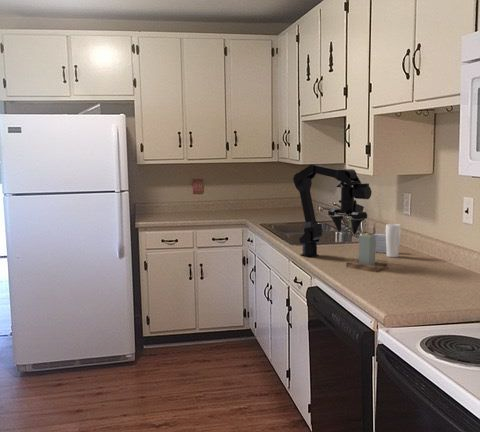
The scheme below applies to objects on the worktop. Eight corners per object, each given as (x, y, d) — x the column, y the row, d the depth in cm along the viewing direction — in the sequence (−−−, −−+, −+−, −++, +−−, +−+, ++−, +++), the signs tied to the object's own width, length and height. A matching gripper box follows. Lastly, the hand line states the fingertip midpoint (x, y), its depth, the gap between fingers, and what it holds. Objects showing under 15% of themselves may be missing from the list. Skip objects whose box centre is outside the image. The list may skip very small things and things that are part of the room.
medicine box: (390, 252, 265) (391, 234, 264) (388, 253, 261) (389, 235, 260) (374, 250, 269) (374, 233, 267) (372, 252, 265) (372, 234, 263)
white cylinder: (388, 254, 259) (389, 223, 257) (402, 256, 255) (403, 224, 253) (382, 256, 254) (383, 224, 252) (396, 258, 250) (397, 226, 248)
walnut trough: (346, 266, 233) (346, 262, 233) (358, 263, 240) (358, 258, 240) (375, 272, 224) (375, 267, 223) (387, 267, 231) (387, 263, 230)
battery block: (358, 265, 232) (359, 233, 230) (364, 263, 235) (365, 232, 234) (368, 267, 228) (369, 234, 227) (374, 265, 232) (375, 233, 230)
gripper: (376, 198, 236) (375, 234, 238) (345, 195, 252) (344, 228, 254) (358, 200, 230) (357, 236, 232) (327, 196, 245) (327, 231, 247)
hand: (346, 233), depth 241 cm, fingers open, 9 cm apart
